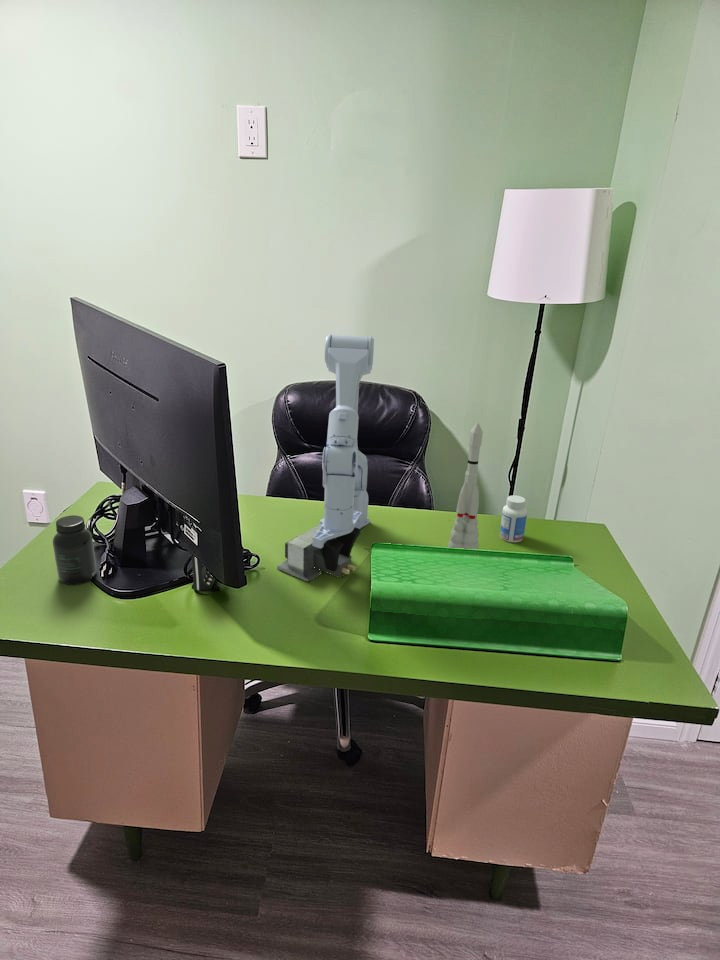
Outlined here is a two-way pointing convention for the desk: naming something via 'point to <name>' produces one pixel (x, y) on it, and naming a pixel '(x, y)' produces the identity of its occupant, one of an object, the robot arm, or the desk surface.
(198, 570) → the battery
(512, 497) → the pill bottle
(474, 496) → the rocket model
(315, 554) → the plug
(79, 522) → the supplement bottle
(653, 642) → the desk surface
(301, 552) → the mounting bracket
